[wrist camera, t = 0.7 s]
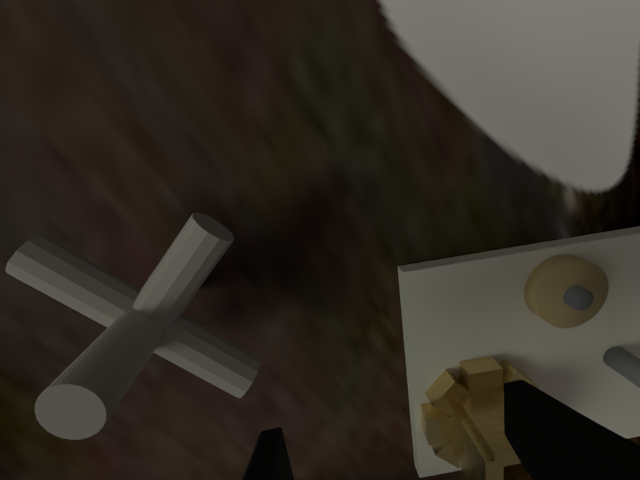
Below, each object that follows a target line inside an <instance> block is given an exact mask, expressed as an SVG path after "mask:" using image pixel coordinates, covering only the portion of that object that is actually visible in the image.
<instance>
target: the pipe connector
mask: <svg viewBox="0 0 640 480" xmlns="http://www.w3.org/2000/svg"><path fill="white" fill-rule="evenodd" d="M233 240H234V238H233V235H232V234H231V232H230V231H229V230H228V229H227V228H226V227H225V226H223V225H222V224H221V223H219V222H218V221H216V220H215V219H213V218H211V217H209V216H207V215H204V214H201V213H193V214H192V215H191V217H190V218H189V220H188V221H187V223H186V224H185V226H184V227H183V229H182V230H181V232H180V233H179V235H178V236H177V237H176V239H175V240H174V242H173V243H172V245H171V246H170V248H169V249H168V251H167V252H166V254H165V255H164V257H163V258H162V260H161V261H160V263H159V264H158V266H157V267H156V269H155V270H154V272H153V273H152V274H151V276H150V277H149V279H148V280H147V282H146V283H145V285H144V286H143V288H142V289H141V290H140V289H138V288H137V287H135V286H133V285H131V284H130V283H128V282H126V281H125V280H123V279H121V278H119V277H118V276H116V275H114V274H113V273H111V272H109V271H107V270H106V269H104V268H102V267H100V266H99V265H97V264H95V263H94V262H92V261H90V260H88V259H87V258H85V257H83V256H81V255H80V254H78V253H76V252H75V251H73V250H71V249H69V248H68V247H66V246H64V245H63V244H61V243H59V242H57V241H56V240H54V239H52V238H50V237H49V236H47V235H37V236H36V237H34V238H32V239H30V240H28V241H27V242H26V243H25V244H24V245H22V246H21V247H20V248H19V249H18V250H17V251H16V252H15V253H14V255H13V256H12V257H11V258H10V260H9V261H8V263H7V266H6V269H5V271H6V272H7V273H8V274H9V275H11V276H13V277H15V278H17V279H19V280H21V281H22V282H24V283H26V284H28V285H30V286H32V287H34V288H35V289H37V290H39V291H41V292H43V293H45V294H47V295H48V296H50V297H52V298H54V299H56V300H58V301H59V302H61V303H63V304H65V305H67V306H69V307H71V308H72V309H74V310H76V311H78V312H80V313H82V314H84V315H85V316H87V317H89V318H91V319H93V320H95V321H97V322H98V323H100V324H102V325H104V326H106V327H108V328H107V329H106V330H105V331H104V332H103V333H102V334H101V335H100V336H99V337H98V338H97V339H96V340H95V341H94V342H93V343H92V344H91V345H90V346H89V347H88V348H87V349H86V350H85V351H84V352H83V353H82V354H81V355H80V356H79V357H78V358H77V359H76V360H75V361H74V362H73V363H72V364H71V365H70V366H69V367H68V368H66V369H65V370H64V371H63V372H62V373H61V374H60V375H59V376H58V377H57V378H56V379H55V380H54V381H53V382H52V383H51V384H50V385H49V386H48V387H47V388H46V389H45V390H44V391H43V392H42V393H41V394H40V396H39V397H38V398H37V401H36V403H35V414H36V418H37V420H38V421H39V423H40V424H41V426H42V427H43V428H45V429H46V430H47V431H48V432H50V433H52V434H53V435H55V436H58V437H61V438H64V439H72V440H76V439H84V438H87V437H91V436H92V435H94V434H96V433H97V432H98V431H99V430H100V429H101V428H102V427H103V426H104V424H105V423H106V421H107V420H108V418H109V417H110V415H111V414H112V412H113V411H114V409H115V408H116V406H117V405H118V404H119V402H120V401H121V399H122V398H123V396H124V395H125V393H126V392H127V390H128V389H129V387H130V386H131V384H132V383H133V381H134V380H135V378H136V377H137V375H138V374H139V372H140V371H141V369H142V368H143V367H144V365H145V364H146V362H147V361H148V360H149V358H150V357H151V355H152V354H153V353H156V354H158V355H159V356H161V357H163V358H165V359H167V360H169V361H171V362H172V363H174V364H176V365H178V366H180V367H182V368H184V369H185V370H187V371H189V372H191V373H193V374H195V375H196V376H198V377H200V378H202V379H204V380H206V381H208V382H209V383H211V384H213V385H215V386H217V387H219V388H221V389H222V390H224V391H226V392H228V393H230V394H232V395H234V396H235V397H237V398H241V397H242V396H243V395H244V394H245V393H246V392H247V390H248V389H249V387H250V386H251V384H252V383H253V381H254V379H255V377H256V375H257V373H258V370H259V367H260V359H259V358H257V357H256V356H254V355H252V354H250V353H249V352H247V351H245V350H244V349H242V348H240V347H238V346H237V345H235V344H233V343H231V342H230V341H228V340H226V339H225V338H223V337H221V336H219V335H218V334H216V333H214V332H212V331H211V330H209V329H207V328H206V327H204V326H202V325H200V324H199V323H197V322H195V321H194V320H192V319H190V318H188V317H187V316H185V315H183V314H181V313H182V312H183V311H184V309H185V308H186V306H187V305H188V304H189V302H190V301H191V299H192V298H193V297H194V295H195V294H196V292H197V291H198V290H199V288H200V287H201V285H202V284H203V283H204V281H205V280H206V278H207V277H208V276H209V274H210V273H211V271H212V270H213V269H214V267H215V266H216V264H217V263H218V261H219V260H220V259H221V257H222V256H223V254H224V253H225V252H226V250H227V249H228V247H229V246H230V245H231V243H232V242H233Z"/></svg>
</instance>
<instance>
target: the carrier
mask: <svg viewBox="0 0 640 480" xmlns="http://www.w3.org/2000/svg"><path fill="white" fill-rule="evenodd" d="M398 277H399V289H400V300H401V312H402V324H403V336H404V347H405V359H406V371H407V383H408V394H409V406H410V418H411V429H412V441H413V453H414V465H415V467H416V470H417V472H418V475H419V478H422V477H427V476H433V475H438V474H443V473H448V472H454V471H459V470H462V469H461V467H459V468H457V467H455V466H453V465H451V464H450V463H448V462H446V461H445V460H443V459H441V458H439V457H438V456H436V455H435V453H434V451H433V449H432V447H431V445H430V446H429V444H428V442H427V440H426V438H425V435H424V433H423V431H422V424H421V411H420V404H424V403H430V401H429V399H428V397H427V396H426V394H425V391H426V390H427V389H428V388H429V387H430V386H431V385H432V384H433V383H434V382H435V380H436V379H437V378H438V377H439V376H440V375H441V374H442V373H443V372H444V371H445V370H446V369H447V370H448V371H450V372H451V373H453V374H454V375H456V376H457V377H459V378H460V372H459V362H461V361H466V360H472V359H477V358H483V357H489V356H491V357H492V358H493V359H494V360H495V361H496V362H497V363H498V364H500V363H501V361H502V360H503V359H505V360H507V361H508V362H510V363H511V364H513V365H514V366H515V367H517V368H518V369H520V370H521V371H522V372H524V373H525V374H526V375H527V376H528V377H529V378H530V379H532V380H533V381H534V382H535V383H536V384H537V385H538V386H539V388H538V389H540V390H541V391H543V392H545V393H546V394H548V395H550V396H552V397H553V398H555V399H557V400H558V401H560V402H562V403H563V404H565V405H567V406H569V407H570V408H572V409H574V410H575V411H577V412H579V413H581V414H582V415H584V416H586V417H588V418H589V419H591V420H593V421H595V422H596V423H598V424H600V425H602V426H604V427H605V428H607V429H609V430H611V431H613V432H615V433H617V434H618V435H620V436H622V437H624V438H626V439H627V438H632V437H637V436H640V226H638V227H632V228H626V229H620V230H614V231H608V232H602V233H596V234H589V235H583V236H577V237H571V238H565V239H559V240H553V241H547V242H541V243H535V244H529V245H523V246H517V247H511V248H505V249H499V250H493V251H487V252H481V253H475V254H469V255H463V256H457V257H451V258H445V259H439V260H432V261H426V262H420V263H414V264H408V265H402V266H398Z"/></svg>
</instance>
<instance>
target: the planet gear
mask: <svg viewBox="0 0 640 480" xmlns="http://www.w3.org/2000/svg"><path fill="white" fill-rule="evenodd" d="M459 372H460V378H459V377H457V376H456V375H454V374H453V373H451V372H450V371H448V370H447V369H446V370H445V371H444V372H443V373H442V374H441V375H440V376H439V377H438V378H437V379H436V380H435V382H434V383H433V384H432V385H431V386H430V387H429V388H428V389H427V390H426V391H425V394H426V396H427V397H428V399H429V401H430V403H424V404H420V411H421V424H422V431H423V433H424V435H425V438H426V440H427V442H428V444H429V446H430V445H431V447H432V449H433V451H434V453H435V455H436V456H438V457H439V458H441V459H443V460H445V461H446V462H448V463H450V464H451V465H453V466H455V467H457V468H459V467H461V469H462V471H463V473H464V475H465V477H466V479H467V480H533V479H532V478H531V476H530V475H529V474H528V472H527V471H526V469H525V468H524V466H523V465H522V463H521V461H520V460H519V458H518V457H517V455H516V453H515V452H514V450H513V448H512V446H511V445H510V443H509V441H508V439H507V438H506V436H505V434H504V383H507V382H512V381H517V380H524V381H526V382H527V383H529V384H531V385H533V386H535V387H536V388H539V386H538V385H537V384H536V383H535V382H534V381H533V380H532V379H530V378H529V377H528V376H527V375H526V374H525V373H524V372H522V371H521V370H520V369H518V368H517V367H515V366H514V365H513V364H511V363H510V362H508V361H507V360H505V359H503V360H502V361H501V363H500V364H498V363H497V362H496V361H495V360H494V359H493V358H492V357H491V356H489V357H483V358H477V359H472V360H466V361H461V362H459Z"/></svg>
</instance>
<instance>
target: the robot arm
mask: <svg viewBox="0 0 640 480" xmlns="http://www.w3.org/2000/svg"><path fill="white" fill-rule="evenodd" d="M504 434H505V436H506V438H507V439H508V441H509V443H510V445H511V446H512V448H513V450H514V452H515V453H516V455H517V457H518V458H519V460H520V461H521V463H522V465H523V466H524V468H525V469H526V471H527V472H528V474H529V475H530V476H531V478H532V479H533V480H640V446H639V445H637V444H636V443H634V442H632V441H630V440H628V439H626V438H624V437H622V436H620V435H618V434H617V433H615V432H613V431H611V430H609V429H607V428H605V427H604V426H602V425H600V424H598V423H596V422H595V421H593V420H591V419H589V418H588V417H586V416H584V415H582V414H581V413H579V412H577V411H575V410H574V409H572V408H570V407H569V406H567V405H565V404H563V403H562V402H560V401H558V400H557V399H555V398H553V397H552V396H550V395H548V394H546V393H545V392H543V391H541V390H540V389H538V388H536V387H535V386H533V385H531V384H529V383H527V382H526V381H524V380H517V381H512V382H507V383H504ZM242 480H294V479H293V473H292V469H291V465H290V461H289V457H288V453H287V448H286V444H285V440H284V436H283V432H282V428H281V427H280V428H275V429H270V430H265V431H262V432H261V433H260V435H259V437H258V440H257V443H256V446H255V449H254V451H253V454H252V456H251V459H250V461H249V464H248V466H247V469H246V471H245V474H244V476H243V478H242Z"/></svg>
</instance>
